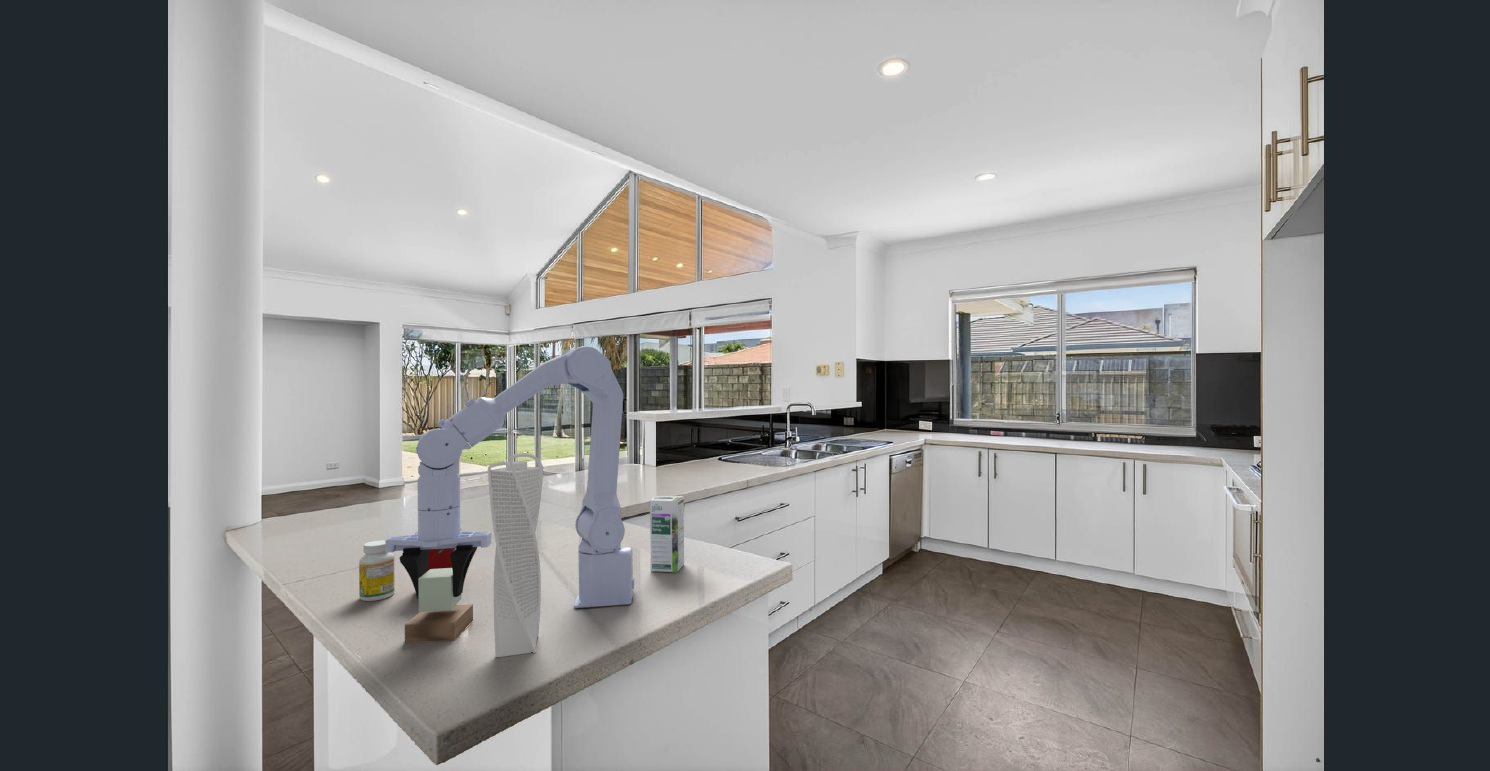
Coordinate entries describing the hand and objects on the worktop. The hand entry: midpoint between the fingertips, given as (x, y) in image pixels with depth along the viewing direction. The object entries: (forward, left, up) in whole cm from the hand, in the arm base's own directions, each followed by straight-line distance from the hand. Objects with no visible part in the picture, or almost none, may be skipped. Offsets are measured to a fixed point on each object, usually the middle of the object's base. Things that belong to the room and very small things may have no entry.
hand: (440, 595), depth 86 cm
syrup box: (-35, -24, -6) cm, 43 cm away
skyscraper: (-13, +8, -6) cm, 16 cm away
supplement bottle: (+17, -18, -6) cm, 25 cm away
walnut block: (0, 0, -6) cm, 6 cm away
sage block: (0, 0, -2) cm, 2 cm away
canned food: (+7, -19, -6) cm, 21 cm away
